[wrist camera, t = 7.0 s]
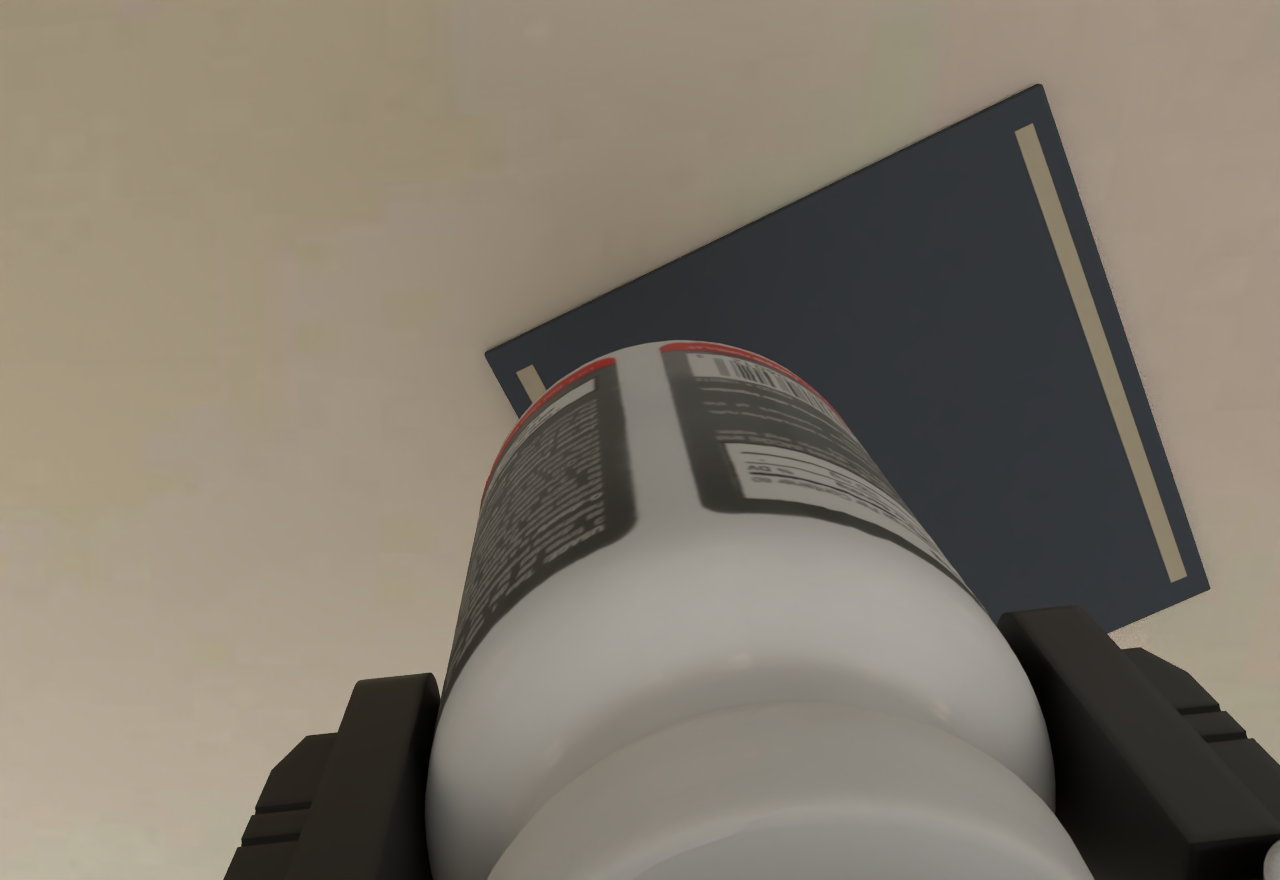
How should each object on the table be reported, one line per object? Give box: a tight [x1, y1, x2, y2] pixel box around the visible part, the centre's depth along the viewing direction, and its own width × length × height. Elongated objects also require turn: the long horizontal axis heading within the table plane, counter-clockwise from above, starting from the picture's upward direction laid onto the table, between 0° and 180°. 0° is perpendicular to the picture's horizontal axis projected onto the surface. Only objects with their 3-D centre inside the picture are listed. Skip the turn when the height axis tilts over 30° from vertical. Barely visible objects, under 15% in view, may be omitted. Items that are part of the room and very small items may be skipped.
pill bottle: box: [425, 340, 1095, 880], centre depth 12 cm, size 6×6×10 cm
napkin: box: [485, 84, 1210, 634], centre depth 31 cm, size 16×16×1 cm
